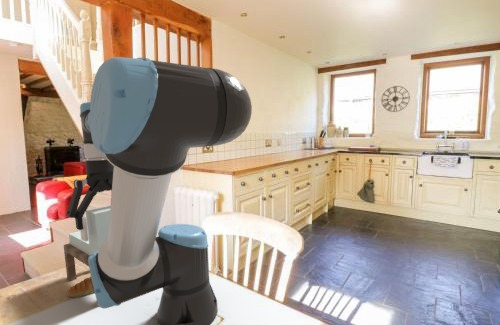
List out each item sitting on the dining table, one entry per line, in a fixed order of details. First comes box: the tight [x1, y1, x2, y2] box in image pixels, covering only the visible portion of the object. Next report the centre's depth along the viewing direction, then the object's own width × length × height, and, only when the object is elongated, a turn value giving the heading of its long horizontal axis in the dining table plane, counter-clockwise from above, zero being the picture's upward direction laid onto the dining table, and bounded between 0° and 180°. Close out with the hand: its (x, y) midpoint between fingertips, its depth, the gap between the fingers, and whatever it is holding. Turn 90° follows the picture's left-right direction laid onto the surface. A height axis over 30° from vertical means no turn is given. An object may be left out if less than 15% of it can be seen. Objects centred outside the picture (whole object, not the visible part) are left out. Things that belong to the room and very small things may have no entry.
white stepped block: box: [68, 204, 111, 255], centre depth 84 cm, size 23×8×14 cm, turn 52°
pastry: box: [67, 276, 95, 298], centre depth 83 cm, size 9×7×4 cm
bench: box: [63, 242, 98, 305], centre depth 85 cm, size 24×10×12 cm, turn 52°
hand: (107, 233), depth 79 cm, fingers open, 11 cm apart
